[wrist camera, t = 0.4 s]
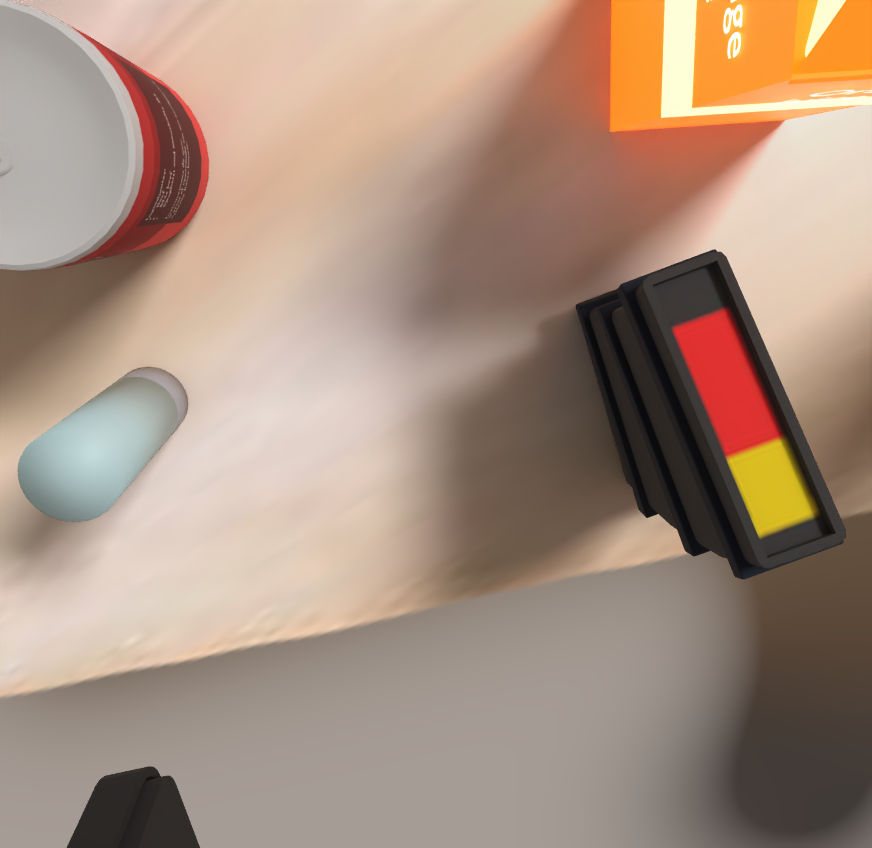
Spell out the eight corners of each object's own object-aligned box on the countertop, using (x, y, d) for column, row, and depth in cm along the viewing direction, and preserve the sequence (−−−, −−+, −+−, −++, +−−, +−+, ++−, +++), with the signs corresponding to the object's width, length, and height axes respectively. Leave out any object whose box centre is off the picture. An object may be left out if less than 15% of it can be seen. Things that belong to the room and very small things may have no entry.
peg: (105, 374, 33) (2, 442, 24) (176, 360, 34) (102, 423, 24) (127, 440, 35) (38, 530, 25) (196, 427, 35) (133, 511, 25)
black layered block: (645, 549, 38) (756, 584, 23) (558, 330, 39) (608, 228, 24) (710, 525, 38) (863, 545, 23) (620, 307, 39) (708, 191, 24)
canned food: (-10, 145, 30) (-209, 115, 20) (126, 24, 29) (-8, -75, 19) (120, 285, 32) (3, 324, 22) (249, 177, 31) (191, 165, 21)
